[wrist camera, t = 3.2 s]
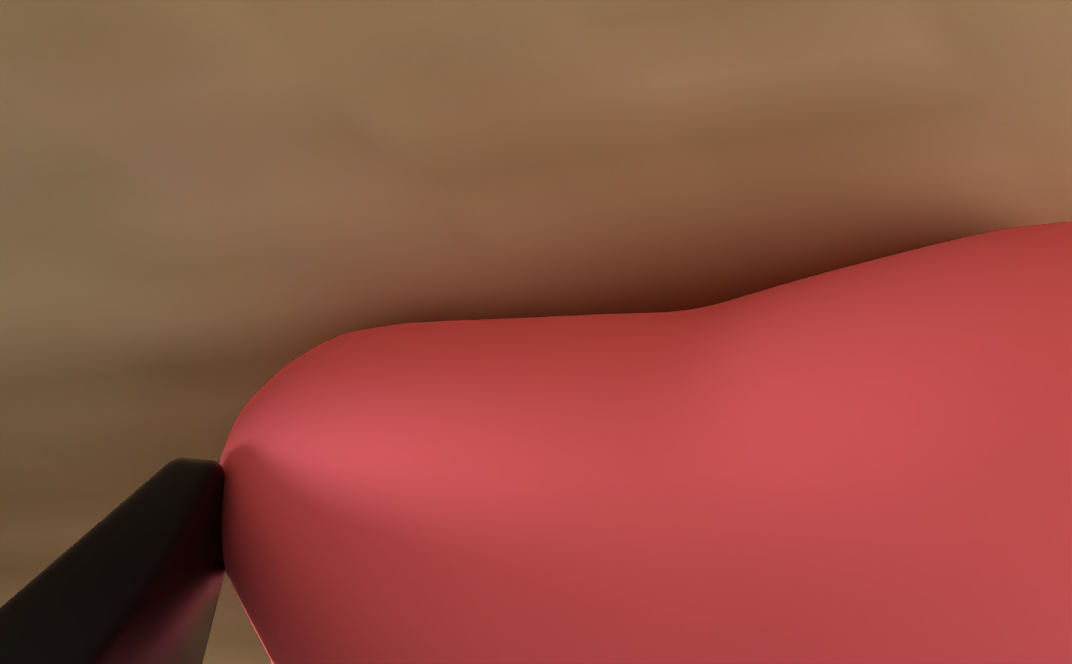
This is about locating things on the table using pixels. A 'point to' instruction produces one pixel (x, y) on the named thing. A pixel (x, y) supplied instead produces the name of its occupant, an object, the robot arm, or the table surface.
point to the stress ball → (680, 478)
